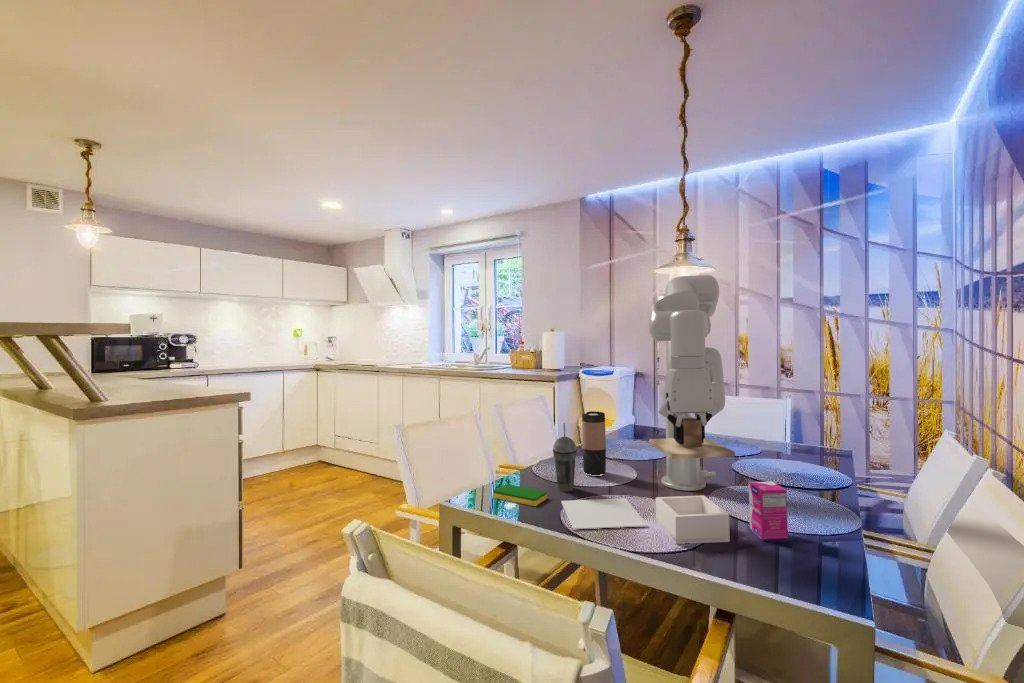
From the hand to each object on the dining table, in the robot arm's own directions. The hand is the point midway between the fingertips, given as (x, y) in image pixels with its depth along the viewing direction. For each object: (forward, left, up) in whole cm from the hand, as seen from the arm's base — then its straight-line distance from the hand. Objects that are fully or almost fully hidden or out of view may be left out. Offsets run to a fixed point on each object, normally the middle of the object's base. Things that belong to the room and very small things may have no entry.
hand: (689, 441), depth 106 cm
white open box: (0, 0, -21) cm, 21 cm away
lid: (0, 0, -2) cm, 2 cm away
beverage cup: (+24, -32, -21) cm, 45 cm away
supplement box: (-16, +4, -21) cm, 27 cm away
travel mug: (+12, -46, -21) cm, 52 cm away
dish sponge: (+38, -26, -21) cm, 51 cm away
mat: (+18, -12, -21) cm, 30 cm away
